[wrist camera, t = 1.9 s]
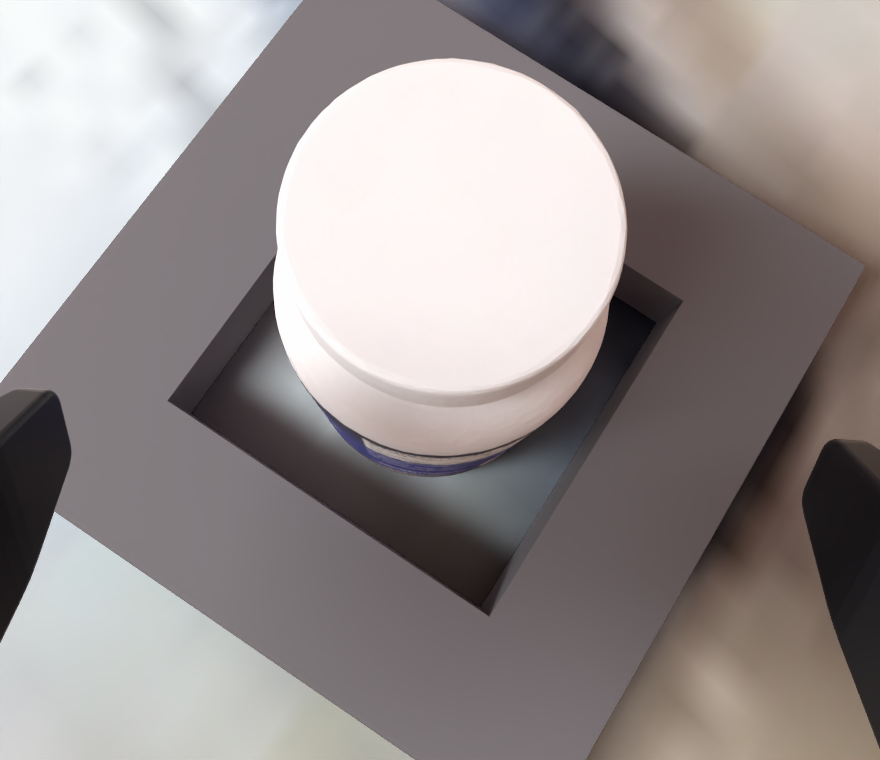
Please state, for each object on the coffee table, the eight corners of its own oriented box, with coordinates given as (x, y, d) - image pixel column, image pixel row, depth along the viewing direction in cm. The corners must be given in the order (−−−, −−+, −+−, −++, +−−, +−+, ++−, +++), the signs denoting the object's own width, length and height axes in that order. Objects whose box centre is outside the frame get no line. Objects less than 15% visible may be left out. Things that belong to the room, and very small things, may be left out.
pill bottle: (312, 263, 20) (231, 20, 11) (532, 254, 21) (648, 11, 11) (319, 488, 19) (236, 444, 10) (550, 474, 20) (696, 421, 10)
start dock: (523, 810, 18) (537, 843, 16) (-1, 450, 19) (-47, 441, 17) (822, 290, 21) (866, 265, 19) (351, -3, 22) (346, -55, 20)
